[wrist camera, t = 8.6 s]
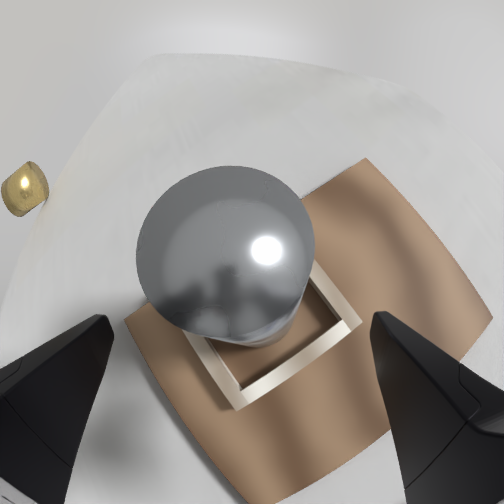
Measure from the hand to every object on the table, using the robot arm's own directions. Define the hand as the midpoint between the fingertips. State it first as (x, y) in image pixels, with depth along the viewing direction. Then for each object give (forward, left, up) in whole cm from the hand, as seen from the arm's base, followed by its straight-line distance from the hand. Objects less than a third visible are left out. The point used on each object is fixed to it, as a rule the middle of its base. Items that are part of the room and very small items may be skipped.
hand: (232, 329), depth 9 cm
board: (+4, -2, -12) cm, 13 cm away
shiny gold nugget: (-11, +26, -10) cm, 30 cm away
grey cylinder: (+1, +2, -11) cm, 11 cm away
